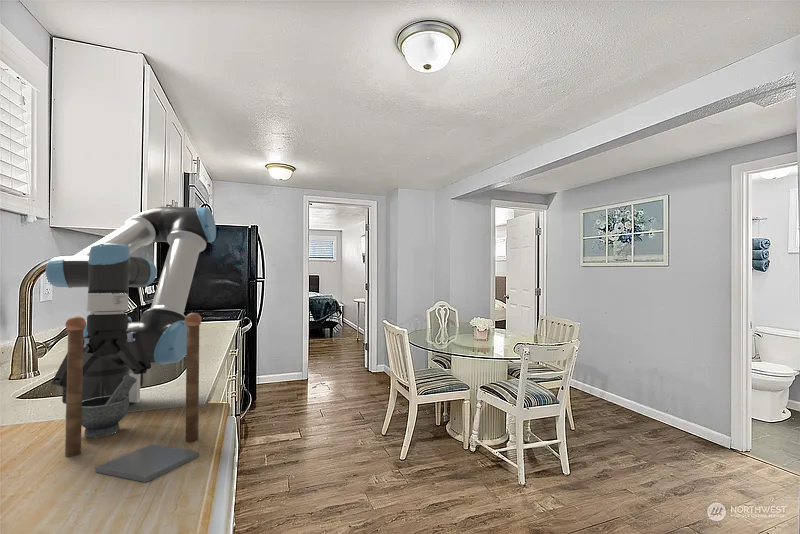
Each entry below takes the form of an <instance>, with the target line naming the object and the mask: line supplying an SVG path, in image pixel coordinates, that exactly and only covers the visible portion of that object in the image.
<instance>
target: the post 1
mask: <svg viewBox="0 0 800 534" xmlns="http://www.w3.org/2000/svg"><path fill="white" fill-rule="evenodd" d="M86 323H87V320H86V319H85V318H84V317H82V316H80V315H74V316H71V317H69V318H68V319H67V320H66V322H65V328H66V330H67V352H66V354H67V396H66V404H65V440H64V441H65V444H64V446H65V450H64V457H75V456H79V455H80V454H81V453H82V427H83V426H82V380H83V332H84V328H85V327H86Z"/></svg>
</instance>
